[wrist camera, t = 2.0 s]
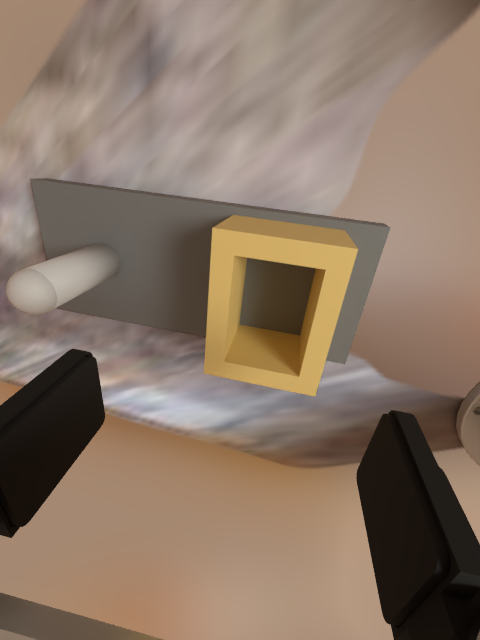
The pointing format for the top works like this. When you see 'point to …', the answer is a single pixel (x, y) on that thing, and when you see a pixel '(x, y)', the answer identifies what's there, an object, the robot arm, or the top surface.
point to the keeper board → (173, 262)
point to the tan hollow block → (267, 345)
